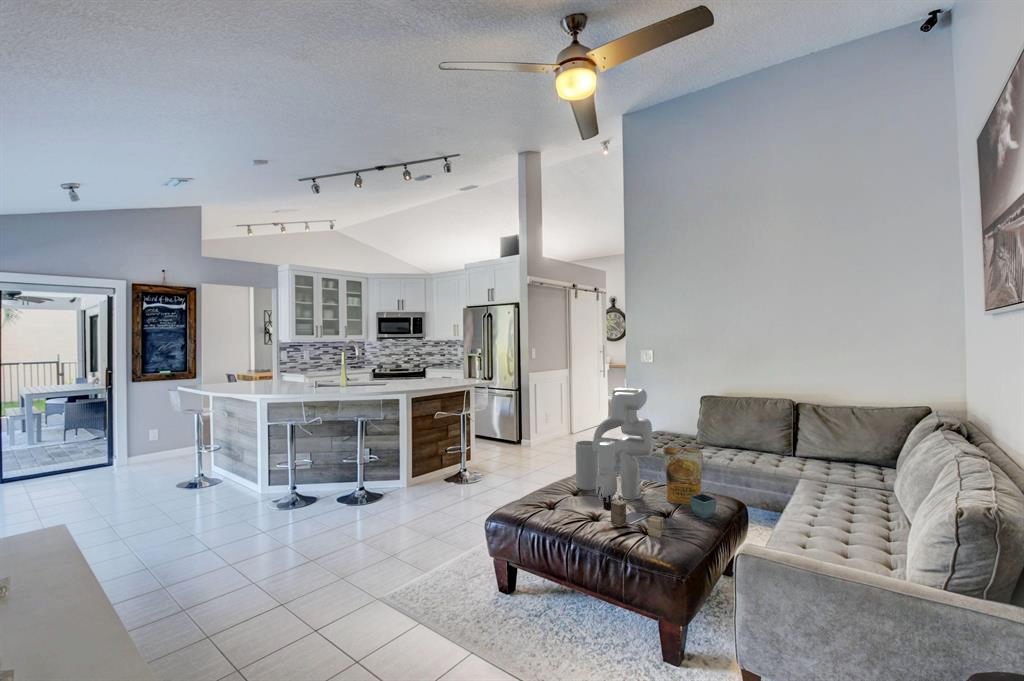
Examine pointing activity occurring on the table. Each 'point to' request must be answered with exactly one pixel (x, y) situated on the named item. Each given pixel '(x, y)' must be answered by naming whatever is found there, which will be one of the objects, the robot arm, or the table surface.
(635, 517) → the grey rectangular panel
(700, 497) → the flower pot
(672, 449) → the pancake mix bag
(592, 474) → the cylinder vase
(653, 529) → the oak block
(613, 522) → the walnut block
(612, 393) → the robot arm
